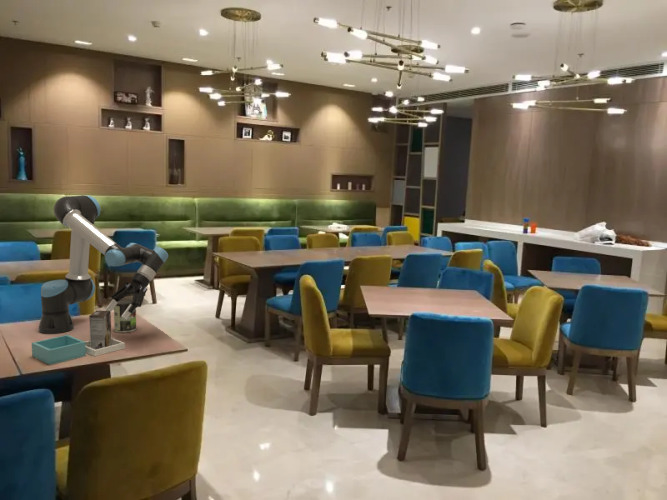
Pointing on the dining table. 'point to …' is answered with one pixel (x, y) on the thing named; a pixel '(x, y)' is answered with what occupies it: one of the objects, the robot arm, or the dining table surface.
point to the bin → (58, 349)
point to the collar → (115, 346)
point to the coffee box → (100, 329)
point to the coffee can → (119, 321)
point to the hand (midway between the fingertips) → (114, 315)
